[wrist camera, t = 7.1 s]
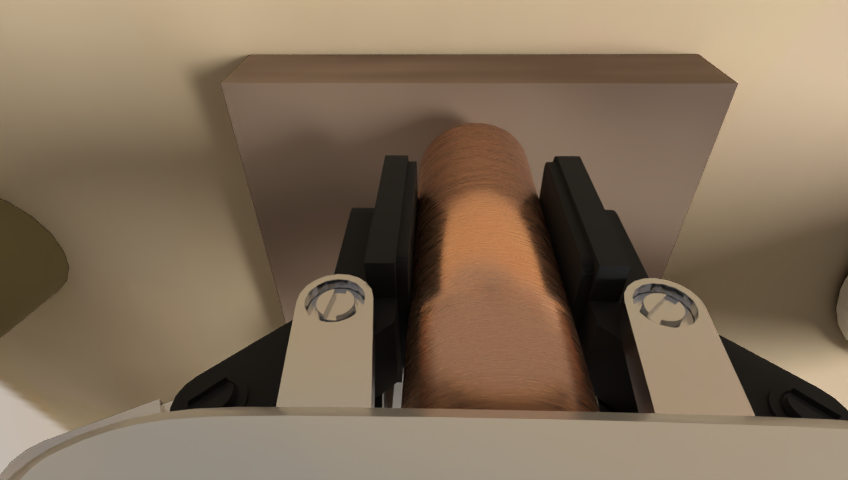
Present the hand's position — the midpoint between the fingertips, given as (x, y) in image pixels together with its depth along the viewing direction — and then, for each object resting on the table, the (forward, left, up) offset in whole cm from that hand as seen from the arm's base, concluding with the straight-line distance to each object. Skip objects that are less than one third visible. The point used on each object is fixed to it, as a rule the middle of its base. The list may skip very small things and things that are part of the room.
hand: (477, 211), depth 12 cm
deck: (0, +15, -6) cm, 17 cm away
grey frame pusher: (0, +6, -3) cm, 7 cm away
